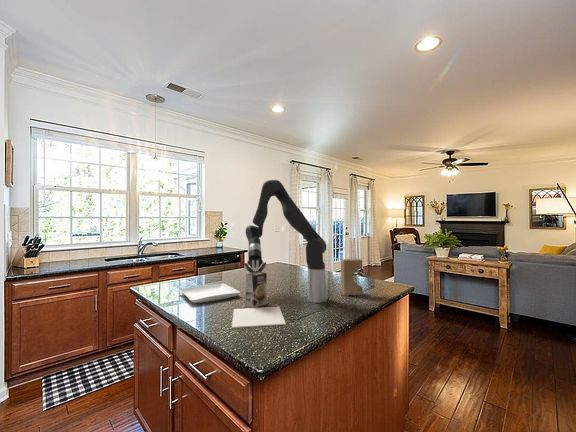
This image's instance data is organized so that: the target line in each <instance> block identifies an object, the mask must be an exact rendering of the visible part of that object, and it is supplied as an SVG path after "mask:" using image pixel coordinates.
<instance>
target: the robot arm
mask: <svg viewBox="0 0 576 432" xmlns="http://www.w3.org/2000/svg"><path fill="white" fill-rule="evenodd" d="M271 197H275V198H276V199H277V200H278V202H279V203H280V204H281V208H282V213H283V216H284V218H285V220H286V221H287V222H288V223H289V225H290V226H291V227H292V228H293V229H294V230H295V231H297V232H298V233H299V234H300V235H301V236H302V237H303V238H304V239H305V240H306V245H305V260H306V265H307V301H308V302H310V303H316V304H321V303H324V302H327V283H326V264H325V261H324V256H323V255H324V253H325V252H326V251H327V243H326V241H325V240H324V239H323V237H321V236H320V235H319V234H318V232H317V231H316V230H315V228H314V227H313V226H312V225H311V223H310V222H309V221H308V219H307V218H306V216H305V214H303V212H302V211H301V209H300V208H299V207H298V206H297V205H296V203H295V202H294V200H293V199H292V198H291V196H290V194H289V193H288V191H287V189H285V186H284V185H283V183H282V182H281V181H280V180H278V179H269V180H266V181H264V182H263V184H262V187H261V191H260V195H259V201H258V203H257V204H258V205H257V209H256V211H255V214H254V216H253V219H252V223H253V225H247V226H246V228H245V236H246V239H247V241H248V248H247V249H248V251H247V252H248V258H247V259H248V260H247V261H246V262H245V263H244V262H243V264H244V265H243V267H244V268H245V270H246V271H248V273H249V274H250V273H255V272H264V269H265V268H266V267H267V262H264V261H263V259H262V258H263V256H262V247H261V246H262V245H261V237H263V233H264V231H263V230H264V229H263V228H264V224H265V222H266V219H267V217H268V204H269V201H270V199H271Z"/></svg>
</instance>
